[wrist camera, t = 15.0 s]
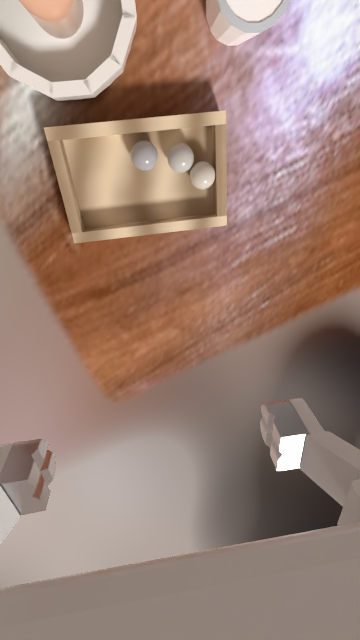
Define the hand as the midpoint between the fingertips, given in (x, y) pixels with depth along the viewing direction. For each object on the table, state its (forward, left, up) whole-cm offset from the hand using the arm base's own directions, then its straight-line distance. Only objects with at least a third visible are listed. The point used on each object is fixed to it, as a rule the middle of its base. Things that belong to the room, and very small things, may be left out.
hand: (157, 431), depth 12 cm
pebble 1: (0, -7, -31) cm, 32 cm away
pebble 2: (-6, -6, -31) cm, 32 cm away
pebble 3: (-8, -5, -32) cm, 34 cm away
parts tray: (-1, -5, -33) cm, 34 cm away
